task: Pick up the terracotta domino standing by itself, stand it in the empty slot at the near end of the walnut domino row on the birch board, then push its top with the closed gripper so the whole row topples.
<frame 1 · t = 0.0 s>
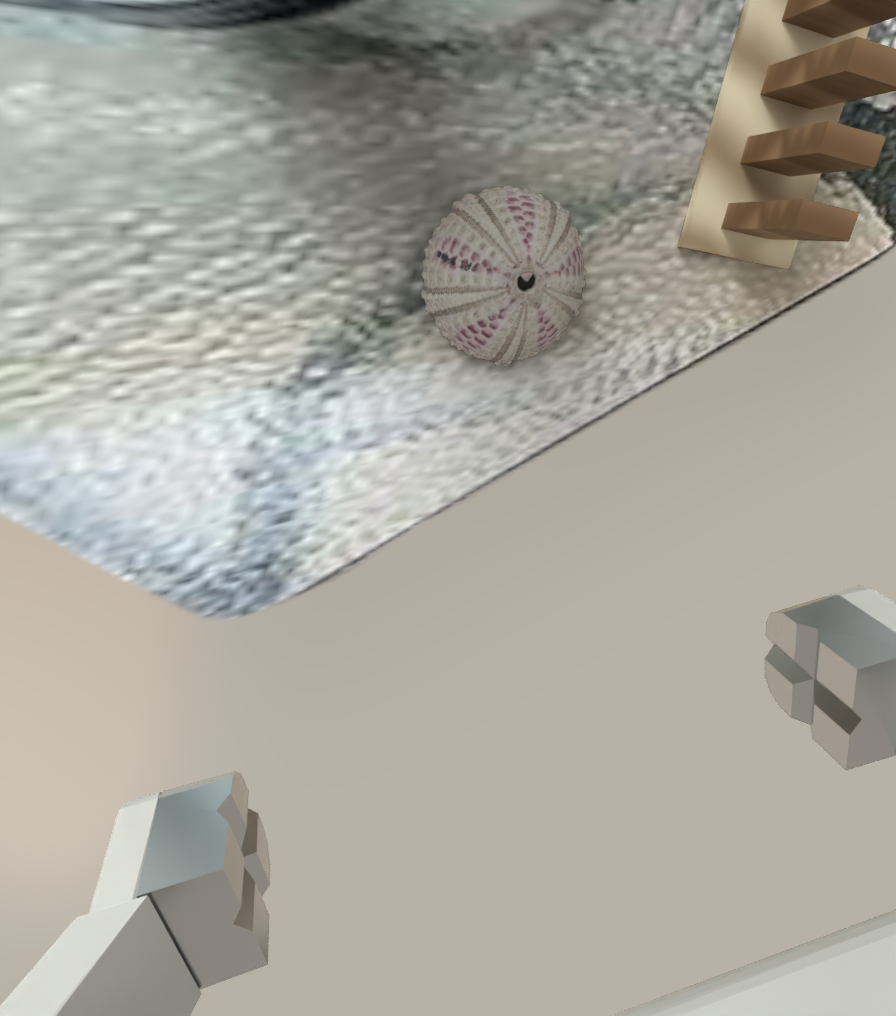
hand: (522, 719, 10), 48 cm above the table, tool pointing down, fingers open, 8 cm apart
birch board: (784, 82, 54), on the table
domino 3: (790, 88, 53), point 1 cm above the table, touching birch board
domino 5: (749, 221, 57), point 1 cm above the table, touching birch board
domino 4: (769, 156, 55), point 1 cm above the table, touching birch board
domino 2: (812, 14, 52), point 1 cm above the table, touching birch board
sea urchin shell: (493, 275, 55), on the table
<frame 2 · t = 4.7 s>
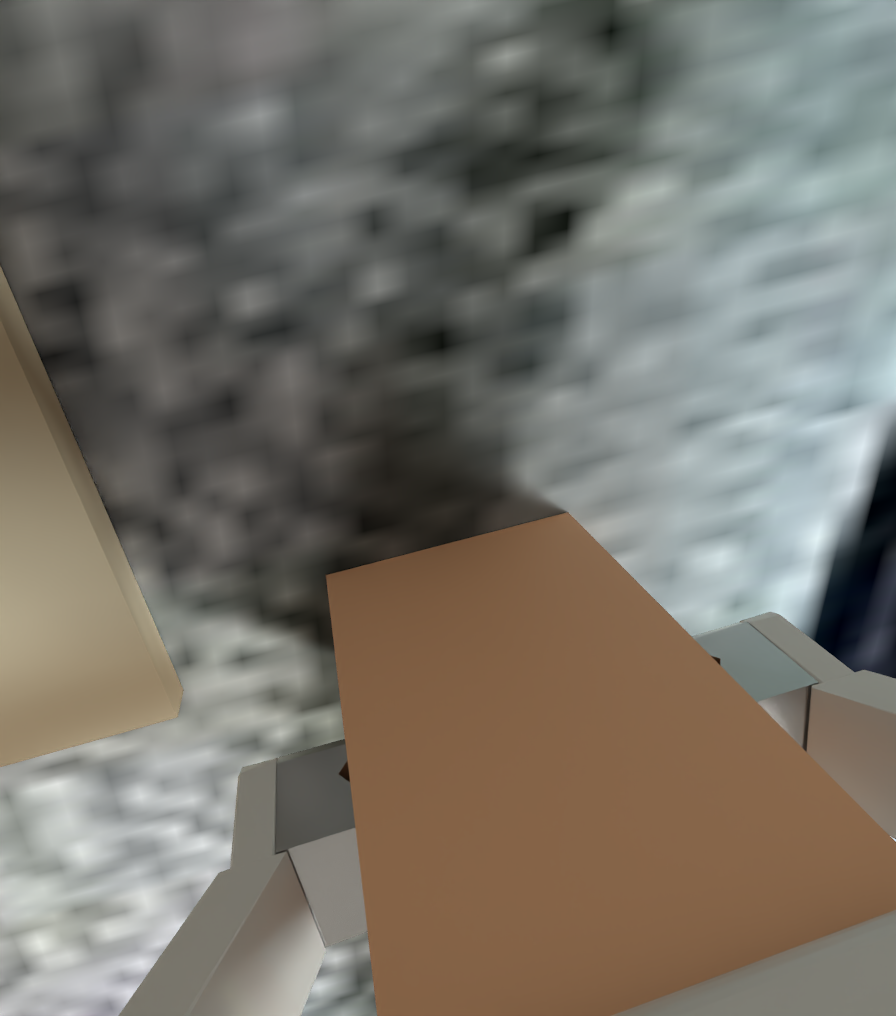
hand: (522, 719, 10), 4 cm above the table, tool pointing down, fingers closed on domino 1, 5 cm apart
domino 1: (458, 585, 14), on the table, touching gripper
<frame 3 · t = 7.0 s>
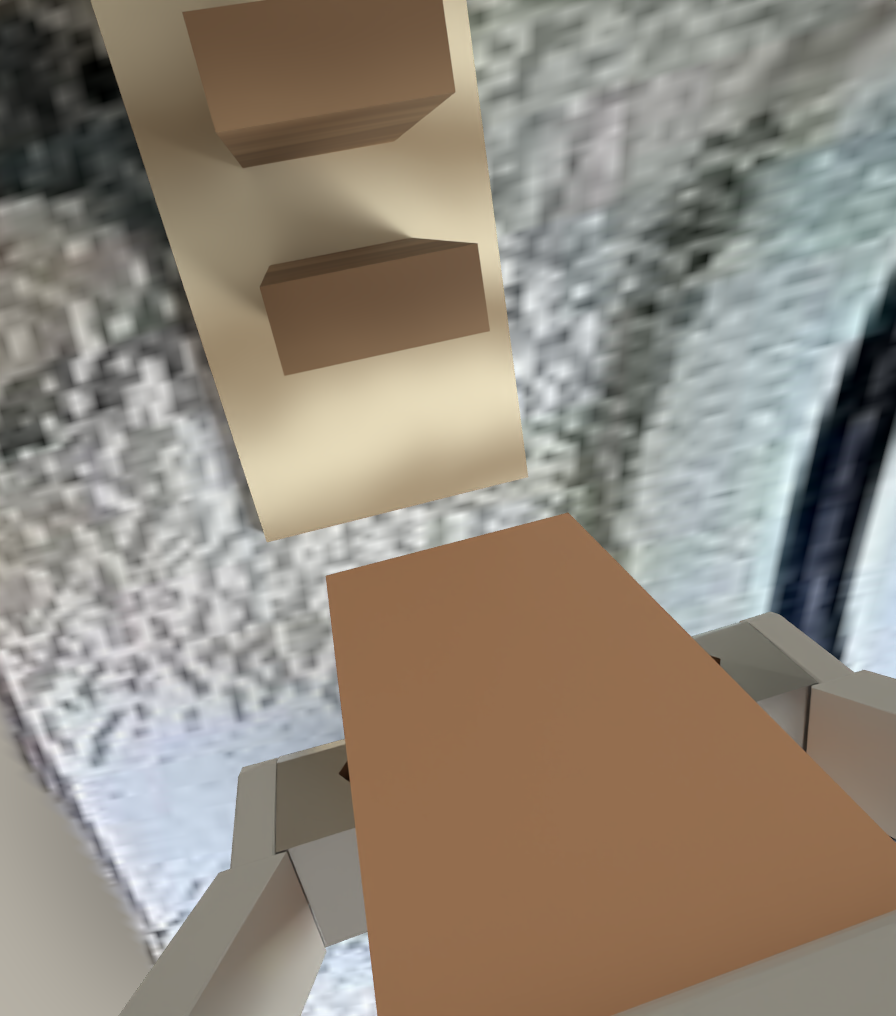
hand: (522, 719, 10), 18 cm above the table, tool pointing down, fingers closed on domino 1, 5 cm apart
birch board: (317, 140, 22), on the table
domino 1: (458, 585, 14), point 14 cm above the table, touching gripper
domino 3: (311, 119, 21), point 1 cm above the table, touching birch board
domino 2: (348, 281, 23), point 1 cm above the table, touching birch board
when the fingers open (5 cm above the table, at t = 9.7 s): domino 1 stays where it is, resting on birch board.
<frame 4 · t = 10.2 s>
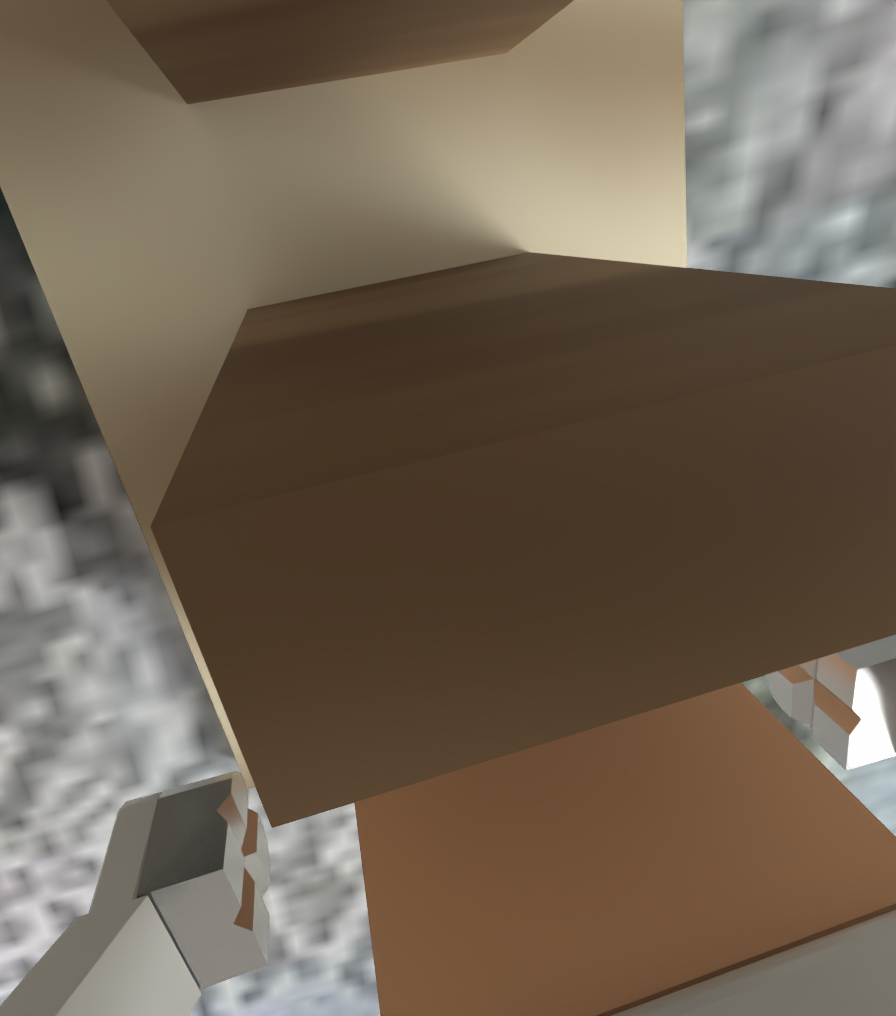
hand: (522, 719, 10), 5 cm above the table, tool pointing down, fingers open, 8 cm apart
birch board: (345, 51, 11), on the table
domino 1: (453, 574, 14), point 1 cm above the table, touching birch board
domino 2: (403, 337, 12), point 1 cm above the table, touching birch board
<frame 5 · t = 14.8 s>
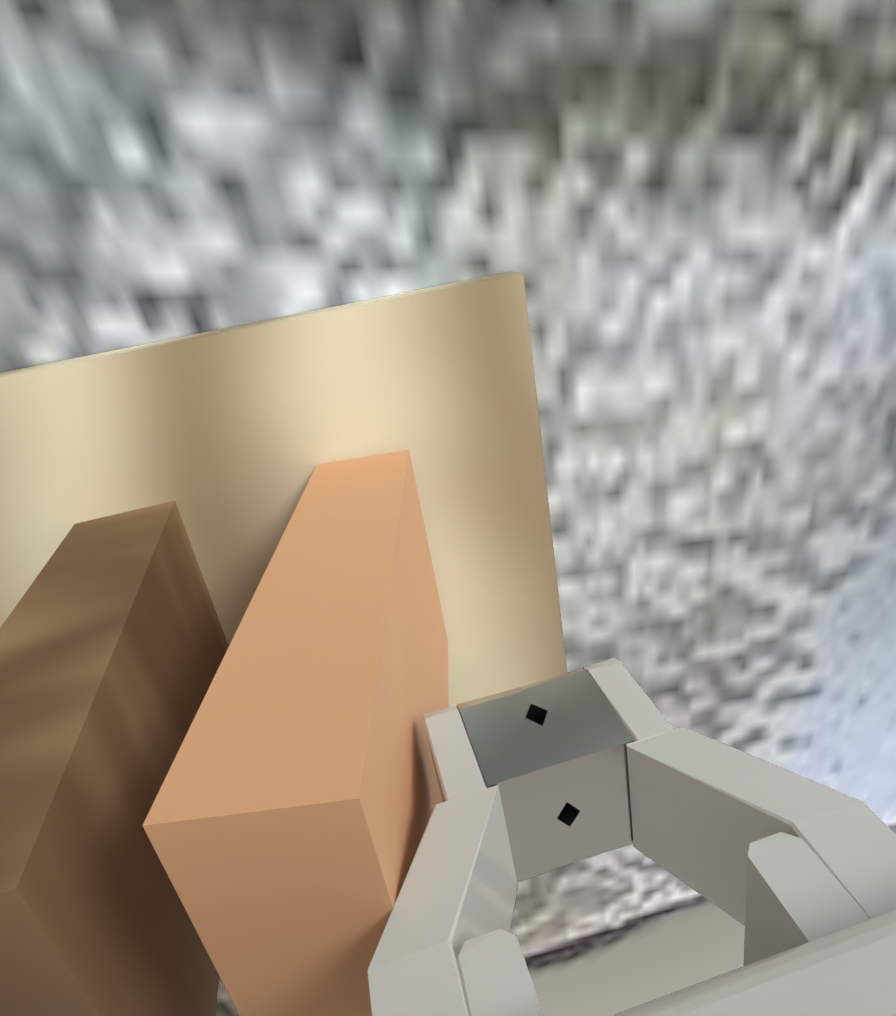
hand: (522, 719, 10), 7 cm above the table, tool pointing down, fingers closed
domino 1: (386, 558, 15), point 1 cm above the table, tilted 13°, touching birch board, gripper
domino 2: (166, 612, 15), point 1 cm above the table, touching birch board
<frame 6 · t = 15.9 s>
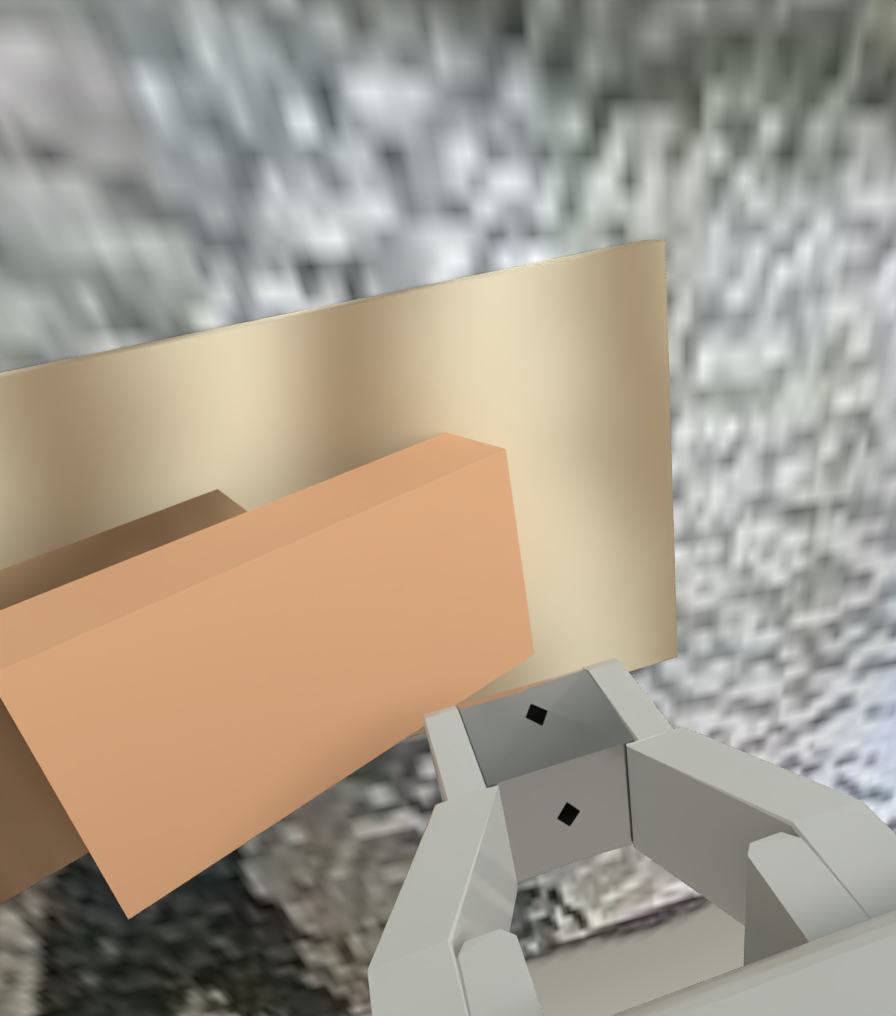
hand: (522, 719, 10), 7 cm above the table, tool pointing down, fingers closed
birch board: (114, 605, 15), on the table
domino 1: (491, 545, 15), point 2 cm above the table, tilted 66°, touching birch board, domino 2
domino 2: (268, 605, 14), point 2 cm above the table, tilted 67°, touching birch board, domino 1, domino 3
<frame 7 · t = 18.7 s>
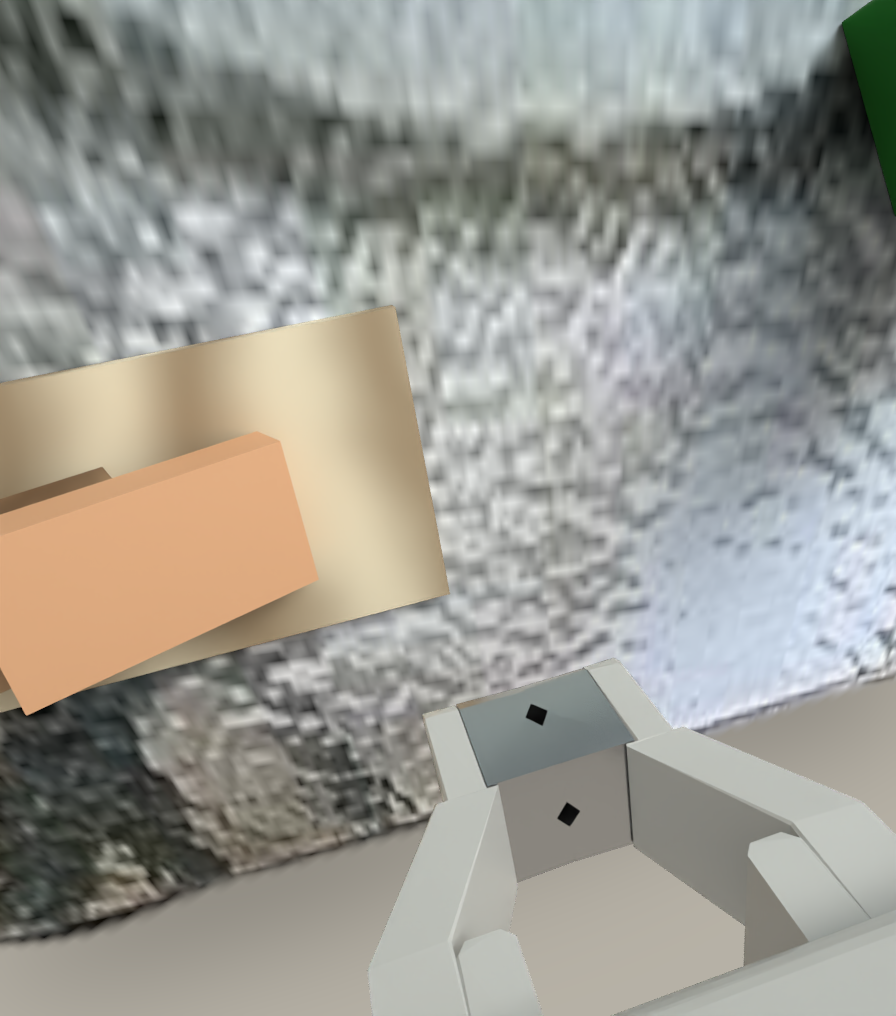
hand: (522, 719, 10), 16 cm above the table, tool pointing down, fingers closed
birch board: (38, 546, 23), on the table
domino 1: (288, 506, 22), point 2 cm above the table, tilted 66°, touching birch board, domino 2
domino 2: (136, 543, 22), point 2 cm above the table, tilted 67°, touching birch board, domino 1, domino 3
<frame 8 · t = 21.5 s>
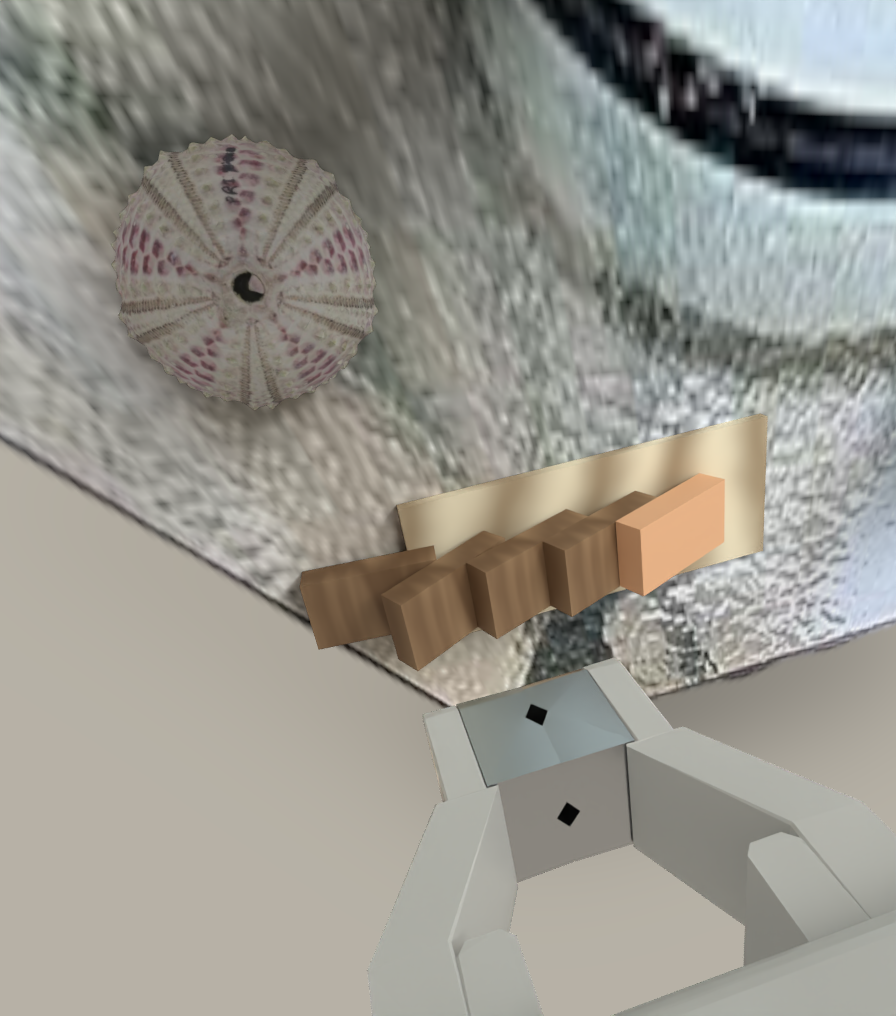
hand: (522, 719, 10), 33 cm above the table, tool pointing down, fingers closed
birch board: (591, 527, 48), on the table
domino 1: (711, 507, 48), point 2 cm above the table, tilted 66°, touching birch board, domino 2
domino 3: (580, 544, 47), point 2 cm above the table, tilted 67°, touching birch board, domino 2, domino 4
domino 5: (441, 584, 45), point 2 cm above the table, tilted 96°, touching birch board, domino 4
domino 4: (499, 565, 46), point 2 cm above the table, tilted 61°, touching domino 3, domino 5
domino 2: (648, 525, 47), point 2 cm above the table, tilted 67°, touching birch board, domino 1, domino 3
sea urchin shell: (253, 275, 37), on the table
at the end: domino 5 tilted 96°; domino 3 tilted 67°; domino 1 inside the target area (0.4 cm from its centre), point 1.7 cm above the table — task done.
